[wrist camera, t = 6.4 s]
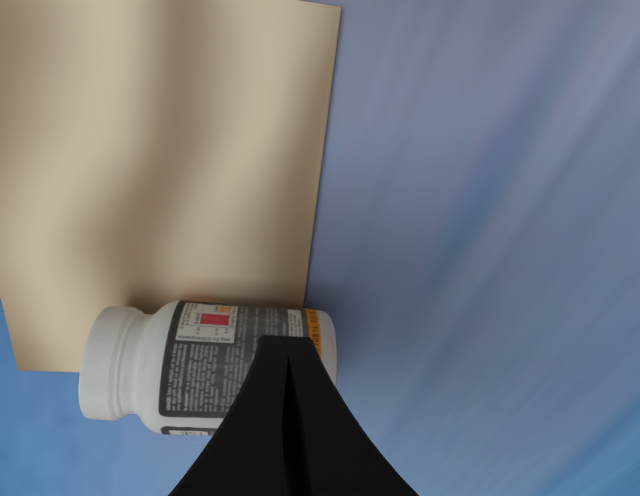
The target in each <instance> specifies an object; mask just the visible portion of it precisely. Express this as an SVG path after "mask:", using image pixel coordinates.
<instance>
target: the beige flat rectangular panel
mask: <svg viewBox="0 0 640 496" xmlns="http://www.w3.org/2000/svg"><path fill="white" fill-rule="evenodd" d="M340 14H341V7H340V6H333V5H326V4H319V3H313V2H306V1H299V0H0V297H1V301H2V305H3V309H4V314H5V318H6V322H7V326H8V330H9V334H10V339H11V343H12V347H13V351H14V355H15V360H16V364H17V368H18V370H24V371H56V372H80V368H81V361H82V356H83V352H84V348H85V344H86V341H87V338H88V335H89V333H90V330H91V328H92V325H93V323H94V321H95V319H96V318H97V316H98V315H99V314H100V312H101V311H102V310H103V309H105V308H107V307H110V306H120V307H135V308H137V309H138V310H140V311H142V312H143V313H144V314H150V315H152V314H155V313H156V312H157V311H158V310H159V309H160V308H162V307H163V306H164V305H166V304H168V303H170V302H173V301H179V300H187V301H201V302H212V303H227V304H244V305H258V306H271V307H286V308H303V303H304V295H305V287H306V280H307V272H308V264H309V256H310V248H311V241H312V233H313V225H314V217H315V209H316V201H317V194H318V186H319V178H320V170H321V162H322V154H323V147H324V139H325V131H326V123H327V115H328V107H329V100H330V92H331V84H332V76H333V68H334V61H335V53H336V45H337V37H338V29H339V21H340Z"/></svg>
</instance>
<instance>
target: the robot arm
mask: <svg viewBox="0 0 640 496" xmlns="http://www.w3.org/2000/svg"><path fill="white" fill-rule="evenodd" d="M168 496H419V495H418V494H417V493H416V492H415V491H414V490H413V489H412V488H411V487H410V486H409V485H408V484H407V483H406V482H405V481H404V480H403V479H402V477H401V476H400V475H399V474H398V473H397V472H396V471H395V469H394V468H393V467H392V466H391V465H390V464H389V462H388V461H387V460H386V459H385V458H384V457H383V455H382V454H381V453H380V452H379V450H378V449H377V448H376V446H375V445H374V444H373V443H372V441H371V440H370V439H369V437H368V436H367V435H366V433H365V432H364V431H363V429H362V428H361V426H360V425H359V423H358V422H357V421H356V419H355V418H354V416H353V415H352V413H351V412H350V410H349V409H348V407H347V405H346V404H345V402H344V401H343V399H342V397H341V396H340V394H339V392H338V390H337V389H336V387H335V385H334V384H333V382H332V380H331V378H330V376H329V375H328V373H327V371H326V369H325V367H324V365H323V363H322V361H321V359H320V356H319V354H318V352H317V350H316V347H315V345H314V342H313V340H312V339H311V338H310V337H296V336H274V335H263V336H261V337H260V338H259V340H258V346H257V350H256V353H255V356H254V359H253V362H252V364H251V367H250V369H249V371H248V374H247V376H246V378H245V380H244V382H243V384H242V386H241V388H240V391H239V392H238V394H237V396H236V398H235V400H234V402H233V403H232V405H231V407H230V409H229V410H228V412H227V414H226V416H225V417H224V419H223V421H222V422H221V424H220V426H219V427H218V429H217V430H216V432H215V434H214V435H213V437H212V438H211V440H210V441H209V442H208V444H207V445H206V447H205V448H204V450H203V451H202V453H201V454H200V455H199V457H198V458H197V459H196V461H195V462H194V463H193V465H192V466H191V467H190V469H189V470H188V471H187V473H186V474H185V475H184V477H183V478H182V479H181V480H180V482H179V483H178V484H177V485H176V487H175V488H174V489H173V490H172V492H171V493H170V494H169V495H168Z"/></svg>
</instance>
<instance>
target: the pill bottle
mask: <svg viewBox="0 0 640 496" xmlns="http://www.w3.org/2000/svg"><path fill="white" fill-rule="evenodd" d="M263 335H274V336H296V337H310V338H311V339H312V340H313V342H314V345H315V347H316V350H317V352H318V354H319V356H320V359H321V361H322V363H323V365H324V367H325V369H326V371H327V373H328V375H329V376H330V378H331V380H332V382H333V384H334V385H335V387H336V375H337V347H336V336H335V329H334V326H333V322H332V320H331V318H330V316H329V315H328V314H327V313H326V312H324V311H320V310H313V309H303V308H286V307H271V306H258V305H244V304H227V303H212V302H201V301H187V300H179V301H173V302H170V303H168V304H166V305H164V306H163V307H162V308H160V309H159V310H158V311H157V312H156V313H155V314H152V315H150V314H144V313H143V312H142V311H140V310H138V309H137V308H135V307H120V306H110V307H107V308H105V309H103V310H102V311H101V312H100V314H99V315H98V316H97V318H96V319H95V321H94V323H93V325H92V328H91V330H90V333H89V335H88V338H87V341H86V344H85V348H84V352H83V356H82V361H81V368H80V375H79V403H80V408H81V411H82V413H83V415H84V416H85V417H87V418H89V419H99V420H113V421H115V420H118V419H119V418H120V417H125V416H126V415H127V414H138V415H139V416H140V418H141V420H142V422H143V423H144V424H145V426H146V427H148V428H149V429H150V430H152V431H154V432H157V433H160V434H174V435H214V434H215V432H216V430H217V429H218V427H219V426H220V424H221V422H222V421H223V419H224V417H225V416H226V414H227V412H228V410H229V409H230V407H231V405H232V403H233V402H234V400H235V398H236V396H237V394H238V392H239V391H240V388H241V386H242V384H243V382H244V380H245V378H246V376H247V374H248V371H249V369H250V367H251V364H252V362H253V359H254V356H255V353H256V350H257V346H258V340H259V338H260V337H261V336H263Z"/></svg>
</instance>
